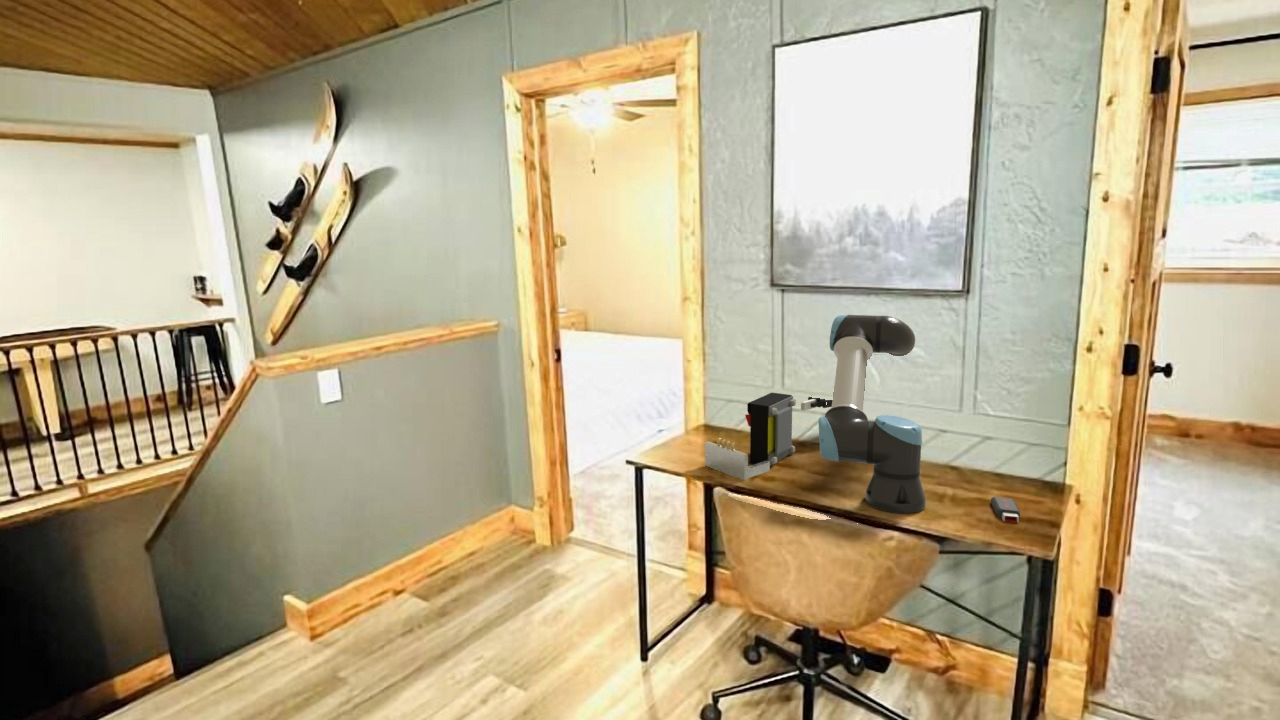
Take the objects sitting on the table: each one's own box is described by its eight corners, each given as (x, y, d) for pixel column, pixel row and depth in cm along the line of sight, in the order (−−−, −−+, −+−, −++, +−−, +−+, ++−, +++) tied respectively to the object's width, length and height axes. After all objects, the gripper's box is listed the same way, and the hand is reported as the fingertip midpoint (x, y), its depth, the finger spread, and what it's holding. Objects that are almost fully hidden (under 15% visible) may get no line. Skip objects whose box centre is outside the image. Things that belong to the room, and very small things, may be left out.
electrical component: (773, 468, 206) (774, 406, 203) (744, 462, 212) (745, 402, 209) (796, 453, 220) (797, 395, 216) (769, 448, 226) (769, 392, 222)
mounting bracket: (770, 471, 203) (771, 439, 201) (744, 480, 196) (744, 447, 194) (731, 458, 217) (731, 427, 215) (705, 466, 209) (705, 435, 207)
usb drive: (1012, 506, 174) (1013, 496, 173) (1022, 524, 163) (1023, 514, 162) (990, 504, 175) (991, 494, 175) (999, 522, 164) (999, 512, 164)
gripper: (859, 408, 233) (818, 420, 219) (828, 401, 243) (787, 413, 229) (860, 387, 232) (818, 399, 218) (829, 381, 242) (787, 392, 228)
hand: (802, 406), depth 224 cm, fingers closed
